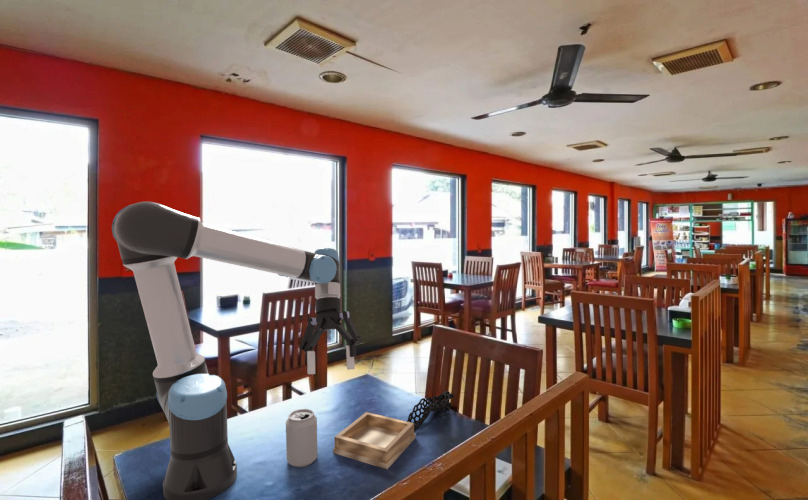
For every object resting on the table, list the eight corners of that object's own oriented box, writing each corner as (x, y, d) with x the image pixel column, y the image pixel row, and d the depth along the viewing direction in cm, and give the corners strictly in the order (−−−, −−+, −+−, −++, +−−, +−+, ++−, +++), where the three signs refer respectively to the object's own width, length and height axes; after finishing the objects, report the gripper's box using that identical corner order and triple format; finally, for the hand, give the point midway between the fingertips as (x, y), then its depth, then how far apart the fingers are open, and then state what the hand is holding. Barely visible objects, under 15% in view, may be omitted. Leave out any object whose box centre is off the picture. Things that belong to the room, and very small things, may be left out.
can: (307, 471, 96) (306, 423, 95) (280, 465, 98) (279, 418, 98) (323, 454, 103) (322, 409, 102) (298, 449, 106) (296, 405, 105)
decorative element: (417, 434, 113) (417, 414, 113) (403, 429, 116) (403, 409, 116) (456, 405, 132) (456, 387, 131) (442, 401, 134) (442, 384, 134)
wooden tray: (333, 452, 104) (332, 437, 104) (366, 425, 118) (365, 411, 118) (387, 469, 97) (387, 452, 96) (415, 437, 111) (415, 423, 111)
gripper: (370, 293, 120) (375, 367, 114) (303, 307, 130) (304, 375, 123) (356, 289, 114) (361, 367, 107) (287, 304, 123) (287, 376, 117)
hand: (330, 371), depth 115 cm, fingers open, 13 cm apart
